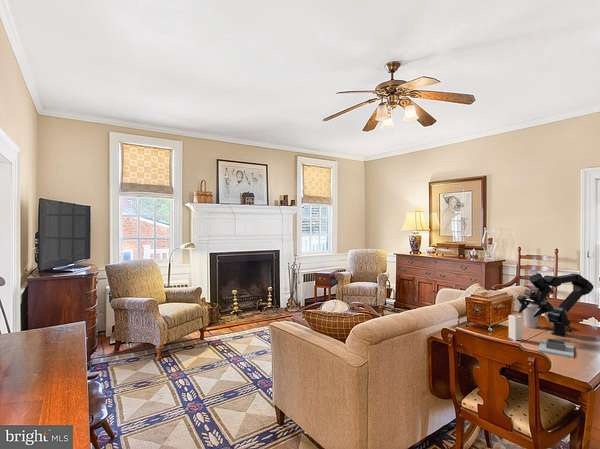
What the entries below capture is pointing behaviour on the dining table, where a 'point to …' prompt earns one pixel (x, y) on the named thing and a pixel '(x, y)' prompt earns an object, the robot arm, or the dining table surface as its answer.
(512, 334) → the charger
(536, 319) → the coffee cup
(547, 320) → the handheld radio
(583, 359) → the dining table surface
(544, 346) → the outlet
